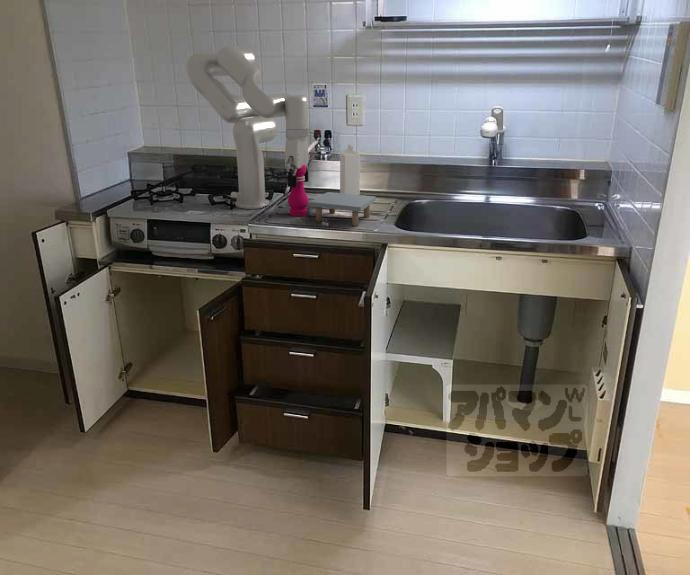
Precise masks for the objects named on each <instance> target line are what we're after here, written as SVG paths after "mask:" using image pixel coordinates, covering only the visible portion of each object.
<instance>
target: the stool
mask: <svg viewBox="0 0 690 575" xmlns="http://www.w3.org/2000/svg"><path fill="white" fill-rule="evenodd" d="M376 199H377V197H376V196H373V195H365V194H364V195H362V194H360V195H354V194H344V193H340V192H333V191H327V192H325V193H323V194H321V195H320V196H318V197H316V198H315V199H312V200H311V201H309V207H314V208H315V222H316V221H317V222H316V223H322V222H323V208H324V209H328V210H329V211H328V212H329V214H333V215H334V214H336V210H339V211H340V210H341V211H350V212H352V214H351V215H352V216H351V220H352V221H351V226H352V225H353V226H352V227H358V226H359V212H360V213H361V212H362V211H363V218H366V219H367V218H370V211H371V210H370V209H371V208H370V207H371V205H372V204H374V203H375V202H376V201H377V200H376ZM321 221H322V222H321Z"/></svg>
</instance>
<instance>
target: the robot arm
mask: <svg viewBox="0 0 690 575" xmlns="http://www.w3.org/2000/svg"><path fill="white" fill-rule="evenodd" d="M255 64H256V57H255V53H254V52H253V51H252V49H250V48H249V47H247V46H244V45H226V46H223V47H221V48H220V49H219V50H218V51H199V52H194V53H192V54H191V55H190V56H189V57H188V59H187V61H186V73H187V76H188V79H189V81H190V83H191V86H193V88H194V89H195V90H196V91H197V92H198V93H199V94H200V95H201V96H202V97H203V98H204V99H205V100H206V101H207V102H208V104H209V105H210V106H211V107H212V108H213V109H214V111H215V112H216V113H217V114H218V115H219V116H220V118H221V119H222V120H223V121H225V122H226V123H227V124H233V126H232V136H233V141H234V146H235V150H236V151H235V152H236V166H237V176H238V177H237V178H238V182H237V183H238V192H236V191H232V192H231V193H230V198H231V199H236V201H235V203H234V204H235V207H237V208H240V209H247V210H249V209H250V210H253V209H254V210H255V209H263V207H264V208H266V207H265V206H267V205H268V204H269V203H270V200H268V199H266V185H265V182H266V181H265V163H264V162H265V161H264V153H263V151H262V149H261V147H260V144H264V143H268V142H271V141H273V140H274V139H276V137H277V134H278V124H277V123H276V121H275V119H274V118H283V117H284V118H285V120H284V122H285V139H286V140H285V148H284V167H285V172H286V175H287V176H286V178H287V187H288V188H292V187H297V176H296V171H297V169H299V168H301V167H302V165H305V166H306V173H305V174H304V176H305V180H304V183H308V182H309V169H310V167H309V166H310V156H309V143H308V139H309V116H308V115H309V114H308V113H309V112H308V111H309V110H308V107H309V106H308V98H307V97H306V96H305V95H299V94H289V93H288V94H287V93H271V94H267V93H265V92H264V91H263V90H262V89H261V88H259V86H258V84H259V83H260V81H261V78H262V73H261V71H260V70H259V69H258V68H257V66H256V65H255ZM225 76H226V77H227V76H229V77H230V78H231V79H232V81H234V82H235V83H236V84H237V85H238V86H239V87H240V88H241V90H242V93H241V94H234V93H232V91H231V90H229V88H228V87H227V86H226V85H225V84H224V83H222V82H221V81H220V80H219V79H217V78H215V77H225ZM292 169H293V170H294V171H293V170H292ZM269 205H270V204H269ZM267 207H268V206H267Z"/></svg>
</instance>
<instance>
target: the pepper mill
mask: <svg viewBox="0 0 690 575" xmlns="http://www.w3.org/2000/svg"><path fill="white" fill-rule="evenodd" d="M292 170H293V169H292ZM293 171H294V170H293ZM305 173H306V166H305V165H302V167H301V168H299V169H297V171H296V176H297V187H291V191H290V193H289V195H288V199H287V205H288V206H289V207H290V208H289V215H290V216H291V217H304V216H307V215H308V209H307V207H308V205H309V198H308V195H307V192H306V190H305V186H304V185H305V184H304V183H305V182H304V180H305V176H304V174H305Z"/></svg>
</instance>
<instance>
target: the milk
mask: <svg viewBox="0 0 690 575" xmlns="http://www.w3.org/2000/svg"><path fill="white" fill-rule="evenodd" d="M339 156H340V157H339V160H340V161H339V164H340V165H339V166H340V167H339V178H340V179H339V193H344V194H354V195H361V192H360V190H361V154H359V153H357V152H356V151H354V146H353V145H352V144H351V145H350V144H349V143H348V144H347V148H346V149H344V150H343V151H342V152H340V154H339Z"/></svg>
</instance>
